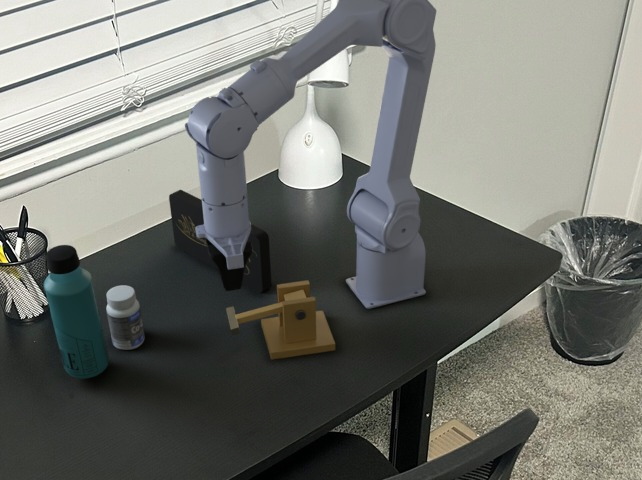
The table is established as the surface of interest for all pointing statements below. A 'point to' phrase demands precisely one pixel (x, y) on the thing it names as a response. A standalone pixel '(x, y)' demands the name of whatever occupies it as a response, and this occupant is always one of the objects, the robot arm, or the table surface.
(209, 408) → the table surface
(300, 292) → the handle
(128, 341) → the pill bottle
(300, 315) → the wooden lever stand
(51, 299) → the beverage bottle
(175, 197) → the nameplate
